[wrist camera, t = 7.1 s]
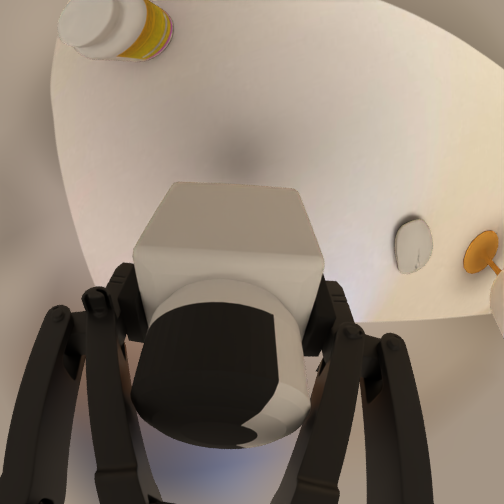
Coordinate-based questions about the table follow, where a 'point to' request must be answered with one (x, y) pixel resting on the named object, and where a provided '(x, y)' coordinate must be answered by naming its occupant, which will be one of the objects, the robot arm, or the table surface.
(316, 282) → the medicine bottle
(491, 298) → the cup
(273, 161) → the table surface
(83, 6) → the supplement bottle
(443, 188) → the table surface
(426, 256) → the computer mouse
